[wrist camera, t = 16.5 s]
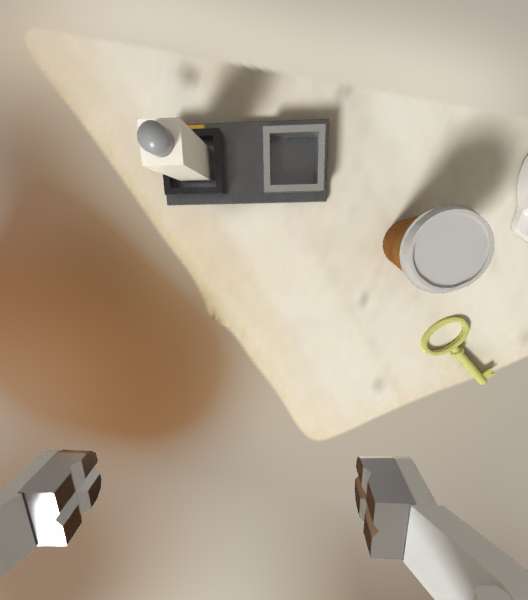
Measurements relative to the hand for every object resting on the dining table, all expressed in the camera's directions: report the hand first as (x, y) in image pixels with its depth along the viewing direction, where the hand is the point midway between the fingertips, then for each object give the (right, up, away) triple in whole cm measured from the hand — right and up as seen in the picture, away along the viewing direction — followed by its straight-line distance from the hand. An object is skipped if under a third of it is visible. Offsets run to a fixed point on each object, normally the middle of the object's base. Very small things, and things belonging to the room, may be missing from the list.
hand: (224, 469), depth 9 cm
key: (+31, -2, +38) cm, 49 cm away
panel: (-1, +24, +32) cm, 40 cm away
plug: (-8, +23, +32) cm, 40 cm away
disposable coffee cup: (+21, +13, +34) cm, 42 cm away
